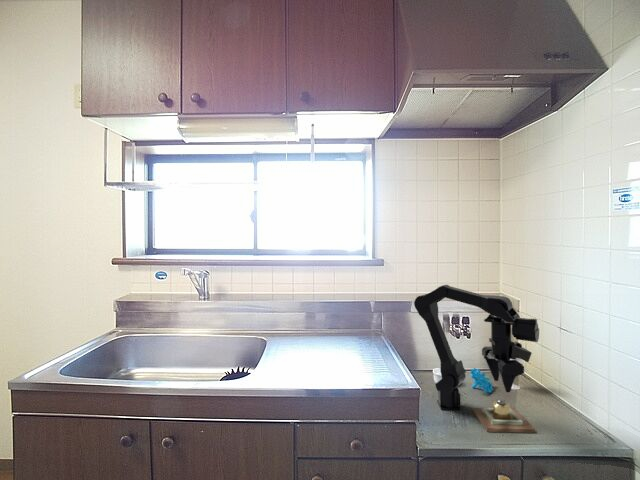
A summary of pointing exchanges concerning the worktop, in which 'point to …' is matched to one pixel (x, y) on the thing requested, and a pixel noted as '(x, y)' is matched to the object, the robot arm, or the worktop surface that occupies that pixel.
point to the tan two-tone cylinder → (501, 410)
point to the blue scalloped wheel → (481, 380)
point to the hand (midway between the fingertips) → (501, 386)
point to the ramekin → (437, 375)
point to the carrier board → (503, 421)
